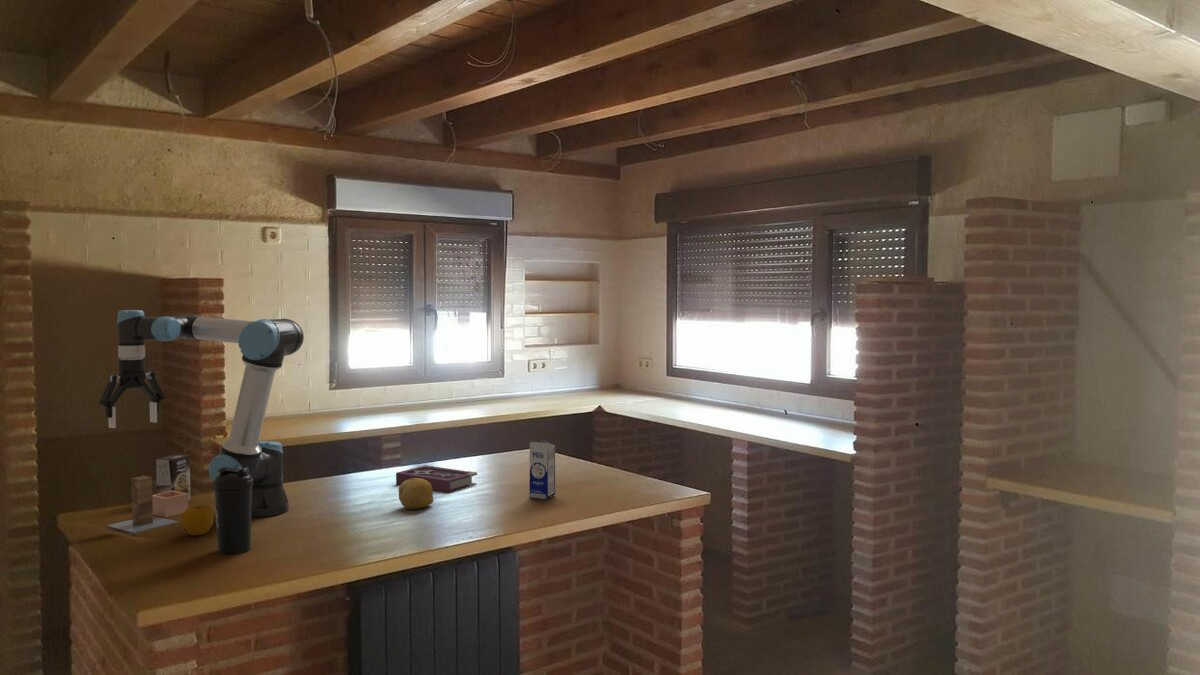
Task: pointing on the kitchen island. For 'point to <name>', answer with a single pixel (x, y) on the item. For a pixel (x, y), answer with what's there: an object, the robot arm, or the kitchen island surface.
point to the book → (439, 477)
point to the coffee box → (173, 474)
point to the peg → (142, 500)
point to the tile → (134, 528)
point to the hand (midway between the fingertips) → (133, 425)
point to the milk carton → (542, 469)
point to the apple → (198, 519)
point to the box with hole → (169, 503)
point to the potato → (415, 493)
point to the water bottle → (233, 510)
